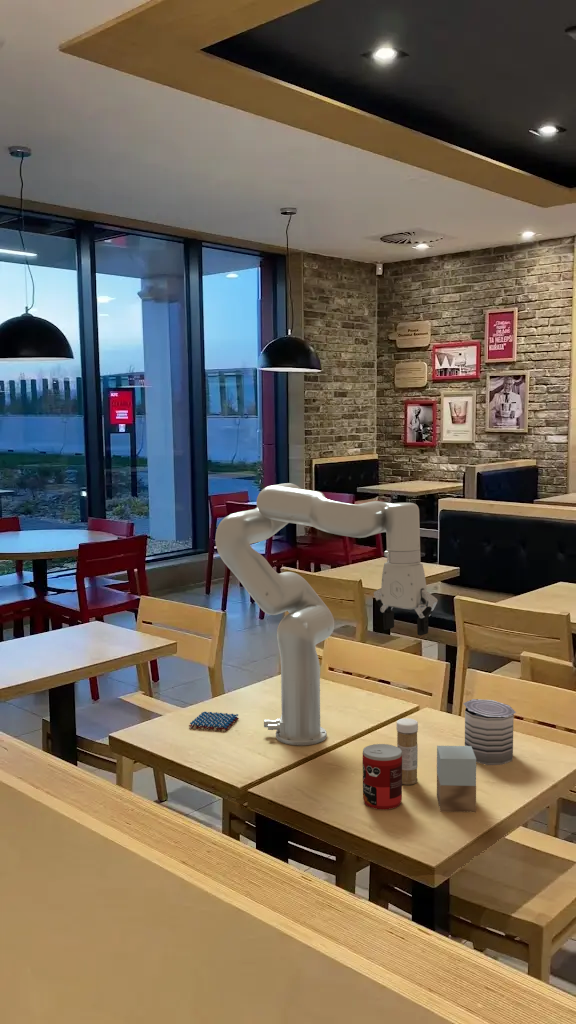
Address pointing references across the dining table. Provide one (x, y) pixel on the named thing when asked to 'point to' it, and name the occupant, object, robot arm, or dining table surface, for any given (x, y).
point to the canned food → (382, 776)
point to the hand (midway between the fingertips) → (405, 631)
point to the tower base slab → (456, 798)
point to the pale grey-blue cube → (456, 765)
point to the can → (489, 731)
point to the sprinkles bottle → (408, 749)
